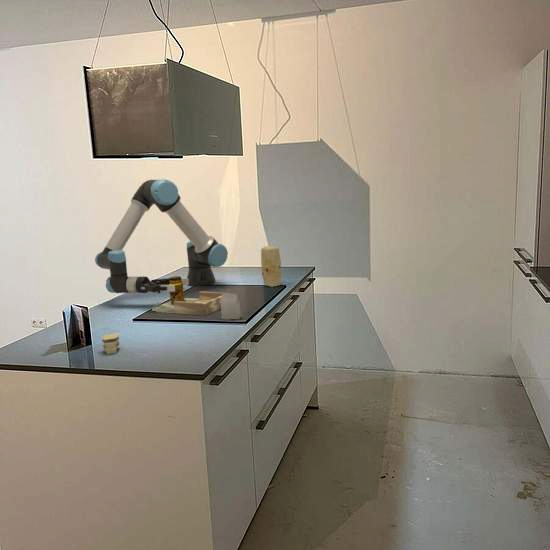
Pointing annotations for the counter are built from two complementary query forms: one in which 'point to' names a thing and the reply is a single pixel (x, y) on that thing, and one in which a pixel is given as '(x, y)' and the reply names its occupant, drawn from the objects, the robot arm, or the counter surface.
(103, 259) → the robot arm
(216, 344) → the counter surface
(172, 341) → the counter surface
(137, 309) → the counter surface
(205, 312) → the open-front wooden tray
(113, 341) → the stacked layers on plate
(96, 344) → the counter surface
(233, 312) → the tea bag
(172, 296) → the condiment
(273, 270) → the food model
